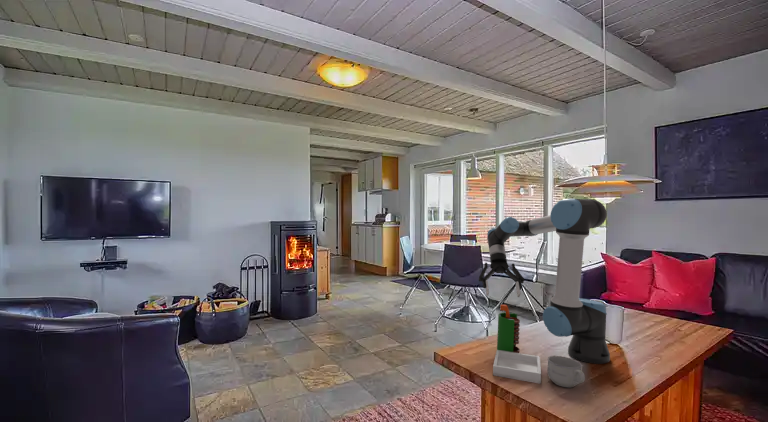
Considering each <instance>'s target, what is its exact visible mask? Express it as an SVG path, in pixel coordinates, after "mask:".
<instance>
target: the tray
mask: <svg viewBox="0 0 768 422" xmlns="http://www.w3.org/2000/svg"><path fill="white" fill-rule="evenodd" d="M541 369H542V368H541V356H539V355H534V354H527V353H522V352H521V353H520V352H519V353H514V352H508V351H501V350H497V349H496V352H495V356H494V361H493V365H492V376H495V377H500V378H507V379H512V380H518V381H523V382H529V383H535V384H542V382H541V381H542V371H541Z"/></svg>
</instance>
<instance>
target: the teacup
mask: <svg viewBox="0 0 768 422" xmlns="http://www.w3.org/2000/svg"><path fill="white" fill-rule="evenodd" d="M582 367H583V364H582V363H581V362H580V361H579V360H577V359H575V358H572V357H567V356H562V355H550V356H548V357H547V368H546V369H547V375H548V378H549V379H550V380H551V381H552V382H553V383H554V384H555V385H557V386H559V387H562V388H574V387H576V386H578V385H580V384H582V383H584V382H585V380H586V375H585V372H583V371H582Z"/></svg>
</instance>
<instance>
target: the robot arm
mask: <svg viewBox="0 0 768 422" xmlns="http://www.w3.org/2000/svg"><path fill="white" fill-rule="evenodd" d="M604 205H605V204H603V203H602V202H600V201H599V200H596V199H591V198H590V199H589V198H586V199H585V198H583V199H582V198H564V199H561V200H559V201H557V202H556V203H555V204H554V205H553V207H552V209H551V212H550V215H546V216H542V217H537V218H531V219H529V220H518V219H516V218H515V217H512V216H507V217H504V219H503V220H502V221H501V222H500V223H499V225H498V226H497V227H493V228H491V229H489V230H488V231H487V244H488V251H489V260H490V263H488V262H484V267H483V268H482V271H481V273H480V275H479V277H478V282H481V283H482V287H483V289H485V292H486V296H487V297H488V296H489V293H490V291H489V289H490V288H489V279H490V278H491V277H492V276H493V275H494V274H504V275H506V276H508V277H509V278H510V279H511V280H512V281H513V282H515V288H516V295H517V298H520V297H521V294H522V293H521V290H522V284H524V282H525V278H524V276H523V275H522V274H521V273H520V272H519V270H518V268H517V267H516V265H515V263H512V264H508V259H507V253H506V247H505V243H506V242H507V241H508V239H510V238H511V237H534V236H538V235H540V234H541V235H542V234H547V233H551V232H555V233H556V234H557V235H558V237H559V239H558V241H559V242H558V254H557V267H556V276H555V277H556V278H555V289H554V291H555V292H554V296H552V297H550V301H549V306H547V307H546V308H545V309H543V312H542V321H543V324H544V326H545V328H546V329H547V330H548V331H549V333H551V334H552V335H554V336H556V337H561V338H562V337H565V338H566V337H570V336H572V338H571V339H570V342H569V344H568V348H567V353H568V355H569V356H571V358H572V359H574V360H577V361H581V362H585V363H588V364H589V363H590V364H598V365H599V364H601V365H602V364H607V363H609V362H610V361H611V354H610V350H609V348H608V345H607V344H608V343H607V342H606V331H607V330H606V329H607V315H608V314H607V306H606V305H605V304H604V303H603V302H600V301H596V300H592V299H589V298H580V291H581V280H582V271H583V270H582V268H583V259H584V258H583V255H584V245H585V239H586V238H587V237H588V236H589V235H590V231H591V229H595V228H598V227H601V226H602V225H603V224H604V223H605V222H606V220H607V217H608V213H607V208H606V206H604ZM487 269H491V270H489V272H488V273H487V274H486V272H487ZM485 274H486V275H485Z"/></svg>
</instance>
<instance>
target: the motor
mask: <svg viewBox="0 0 768 422" xmlns="http://www.w3.org/2000/svg"><path fill="white" fill-rule="evenodd" d="M499 309H500V311H505V312H499V313H498V314H497V316H498V317H497V339H496V340H497V342H496V351H497V350H501V351H508V352H514V353H520V348H519V346H517V345H519V344H520V329H521V328H520V326H521V324H520V323H521V322H520V321H521V320H520V318H518V313H514V312H510V309H509V307H508V305H507V304H500V307H499Z"/></svg>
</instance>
